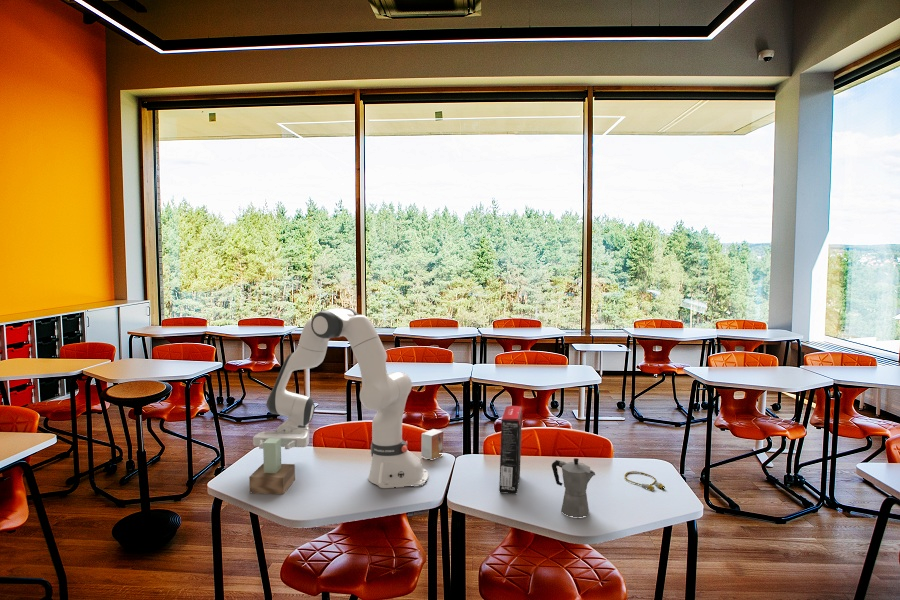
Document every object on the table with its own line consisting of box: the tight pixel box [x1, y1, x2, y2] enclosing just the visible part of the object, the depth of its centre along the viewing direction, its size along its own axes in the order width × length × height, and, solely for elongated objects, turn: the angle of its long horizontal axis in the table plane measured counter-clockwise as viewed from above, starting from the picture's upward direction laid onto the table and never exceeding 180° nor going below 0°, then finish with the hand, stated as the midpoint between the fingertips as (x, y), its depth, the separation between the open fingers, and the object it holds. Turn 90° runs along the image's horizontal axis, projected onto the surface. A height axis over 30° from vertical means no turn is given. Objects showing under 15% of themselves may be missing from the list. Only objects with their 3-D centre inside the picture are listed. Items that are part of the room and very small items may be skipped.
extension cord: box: [624, 470, 666, 491], centre depth 200 cm, size 12×16×2 cm
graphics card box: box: [498, 405, 523, 494], centre depth 196 cm, size 17×7×27 cm, turn 169°
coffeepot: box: [551, 458, 596, 517], centre depth 176 cm, size 15×9×18 cm, turn 50°
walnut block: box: [248, 462, 296, 495], centre depth 194 cm, size 12×12×6 cm
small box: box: [420, 428, 444, 460], centre depth 223 cm, size 8×6×10 cm
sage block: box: [262, 438, 282, 473], centre depth 194 cm, size 4×5×11 cm
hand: (273, 447), depth 195 cm, fingers open, 8 cm apart
